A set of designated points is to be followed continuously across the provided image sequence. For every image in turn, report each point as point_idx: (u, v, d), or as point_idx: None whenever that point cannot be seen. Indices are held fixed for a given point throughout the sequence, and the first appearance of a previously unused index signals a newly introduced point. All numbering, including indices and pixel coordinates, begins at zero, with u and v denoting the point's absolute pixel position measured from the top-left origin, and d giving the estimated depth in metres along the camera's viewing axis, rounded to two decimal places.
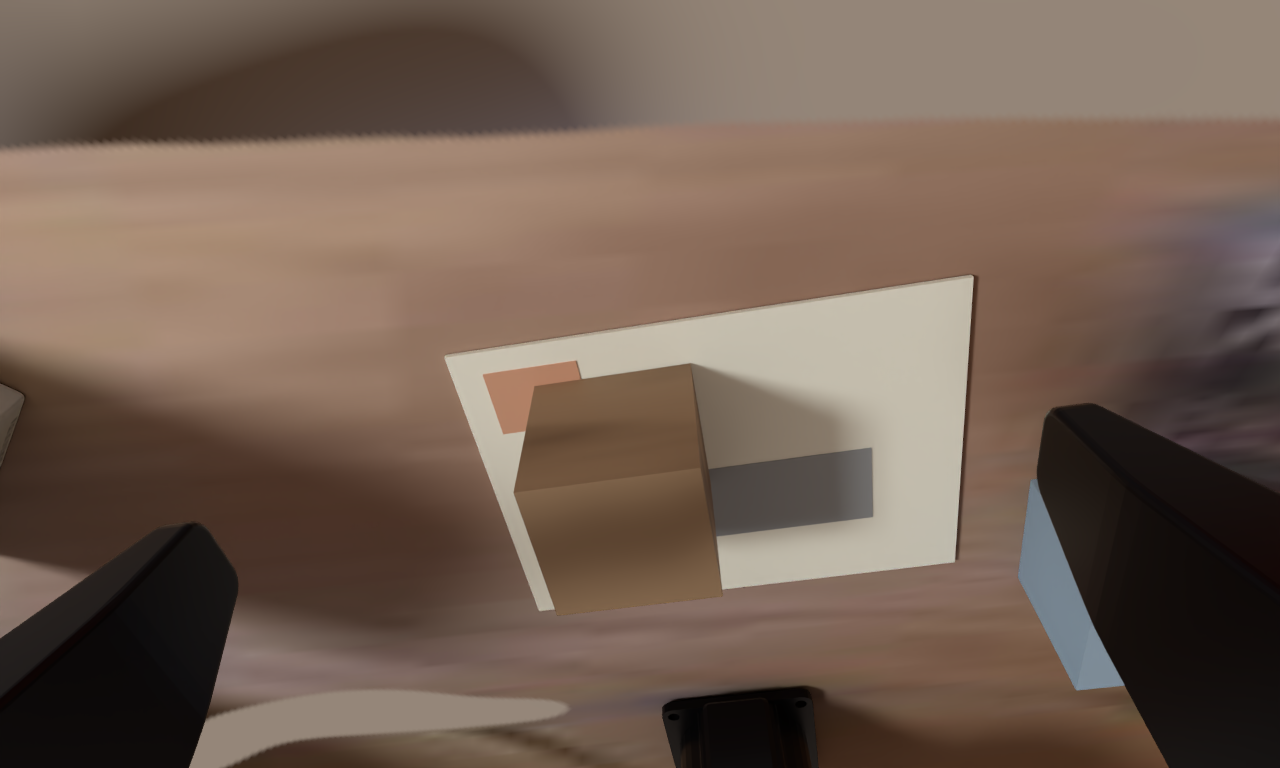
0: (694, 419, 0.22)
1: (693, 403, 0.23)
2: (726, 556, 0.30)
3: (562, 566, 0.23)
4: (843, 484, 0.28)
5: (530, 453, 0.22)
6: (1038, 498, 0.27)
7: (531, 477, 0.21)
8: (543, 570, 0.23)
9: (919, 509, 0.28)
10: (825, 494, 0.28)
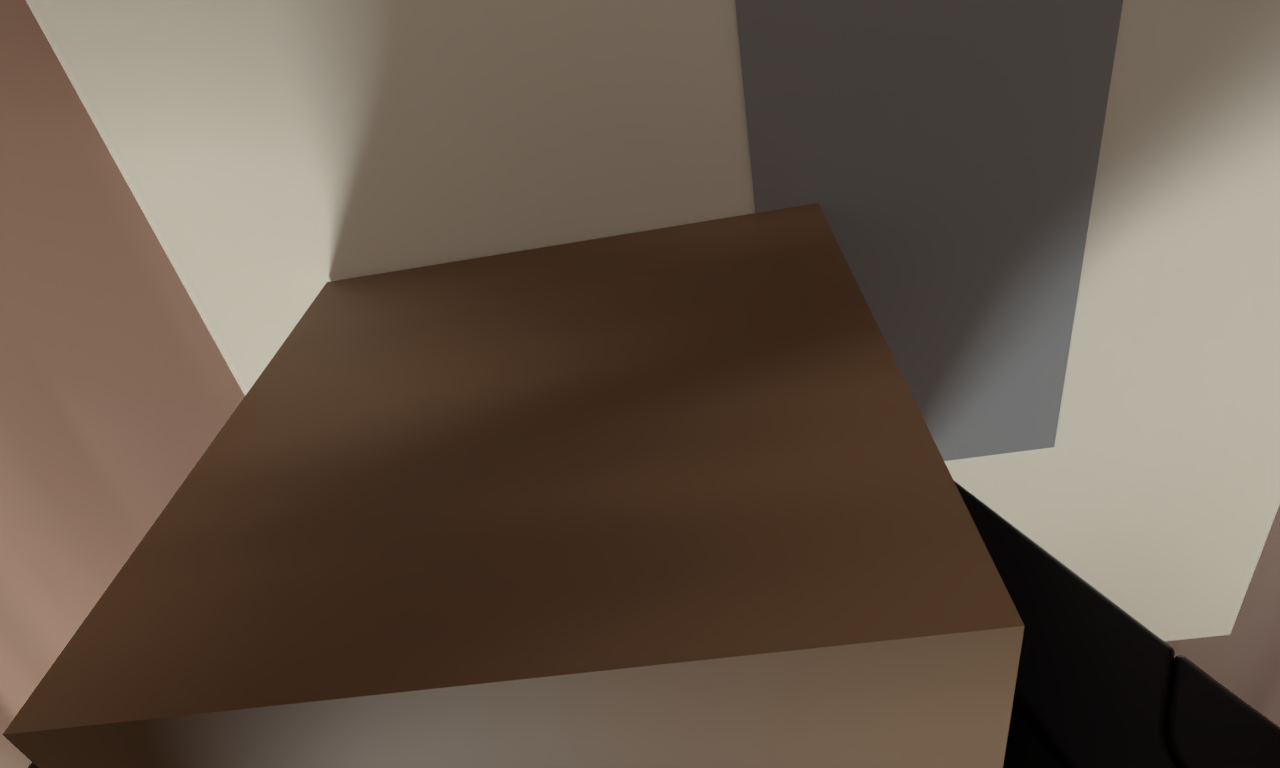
0: (196, 470, 0.06)
1: (245, 403, 0.06)
2: (1227, 122, 0.07)
3: None
4: None
5: None
6: None
7: None
8: None
9: None
10: None
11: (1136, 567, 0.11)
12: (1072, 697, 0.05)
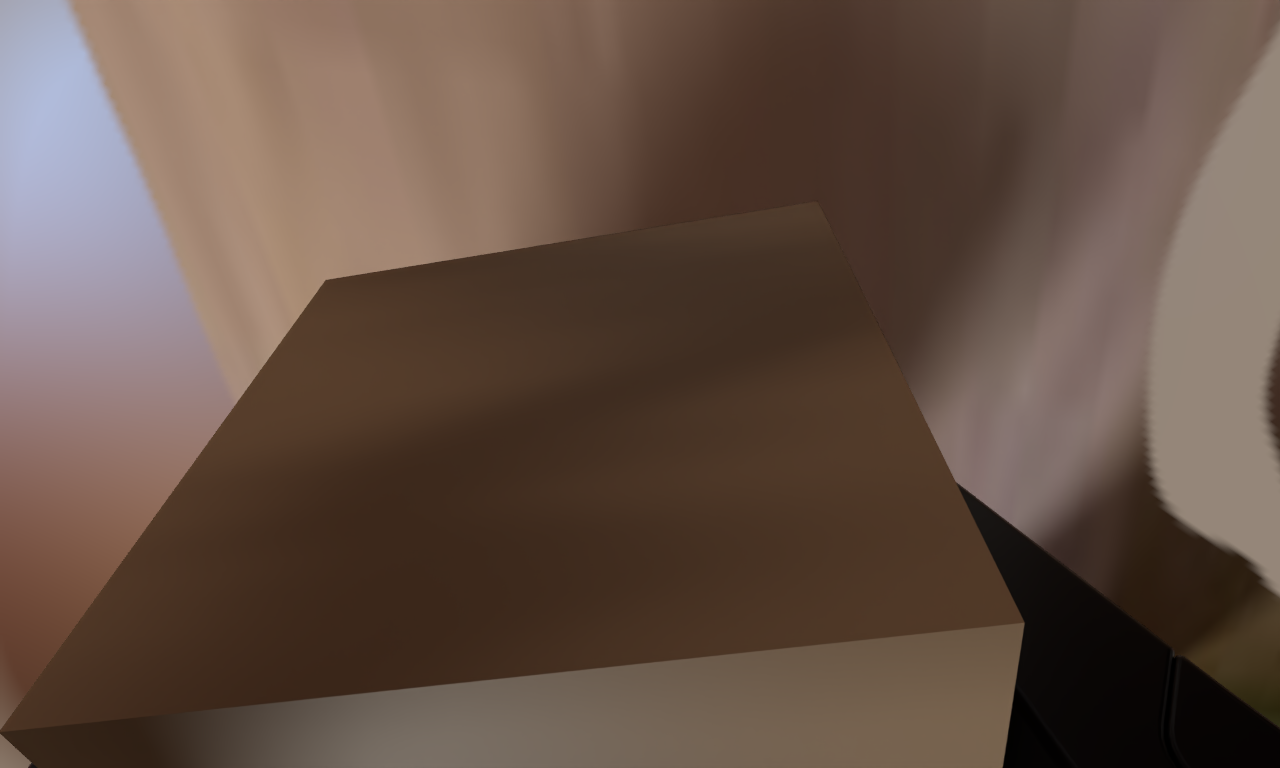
0: (194, 468, 0.06)
1: (243, 401, 0.06)
2: None
3: None
4: None
5: None
6: None
7: None
8: None
9: None
10: None
11: None
12: (1072, 697, 0.05)
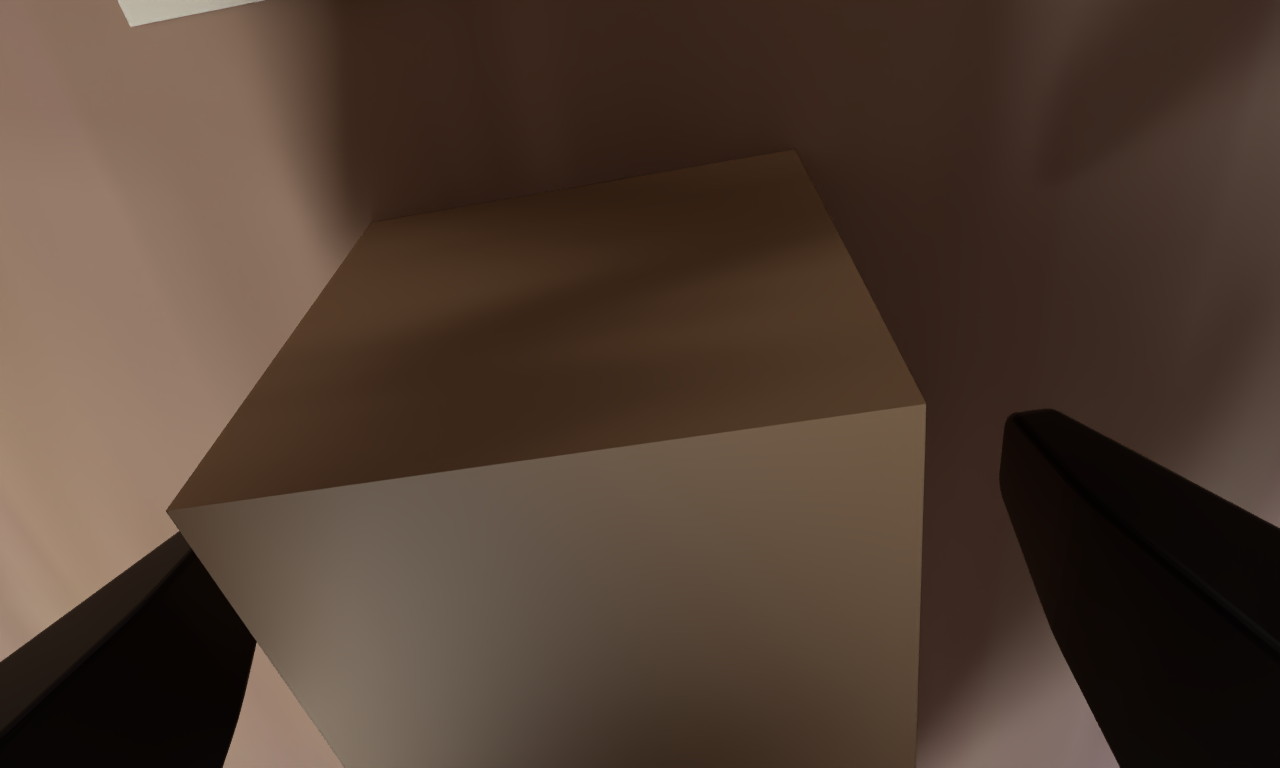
0: (282, 351, 0.07)
1: (315, 306, 0.08)
2: None
3: None
4: None
5: None
6: None
7: None
8: None
9: None
10: None
11: None
12: None
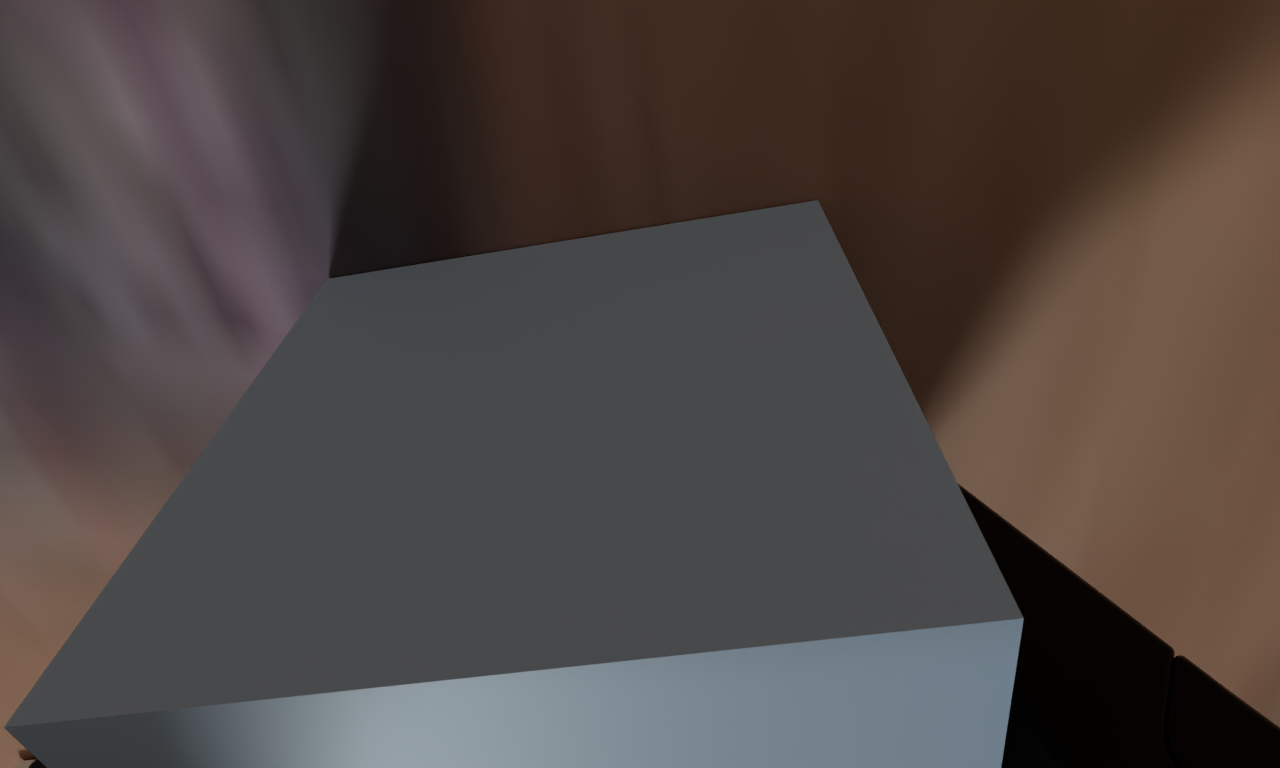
0: None
1: None
2: None
3: None
4: None
5: None
6: None
7: None
8: None
9: None
10: None
11: None
12: (1072, 697, 0.05)
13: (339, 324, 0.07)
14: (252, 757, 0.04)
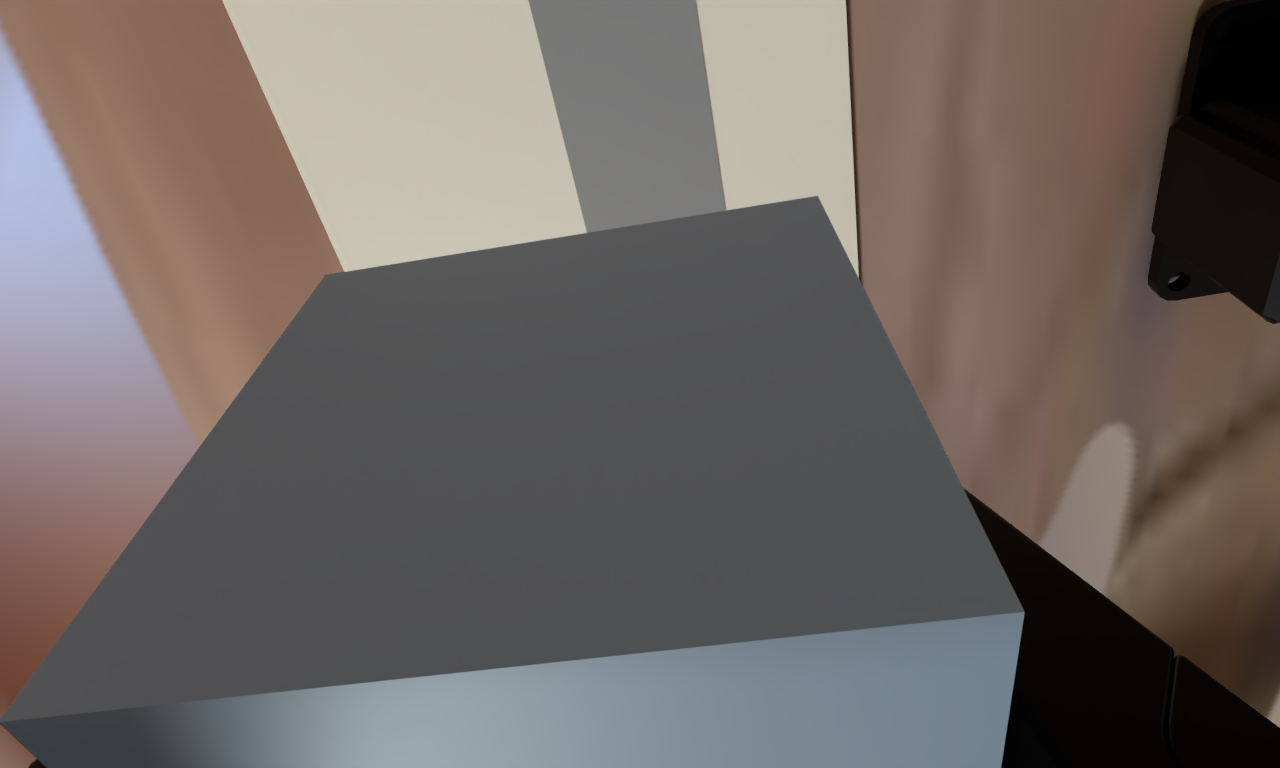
0: None
1: None
2: None
3: None
4: (612, 32, 0.16)
5: None
6: None
7: None
8: None
9: None
10: (635, 62, 0.16)
11: None
12: (1072, 697, 0.05)
13: (337, 320, 0.07)
14: (246, 754, 0.04)
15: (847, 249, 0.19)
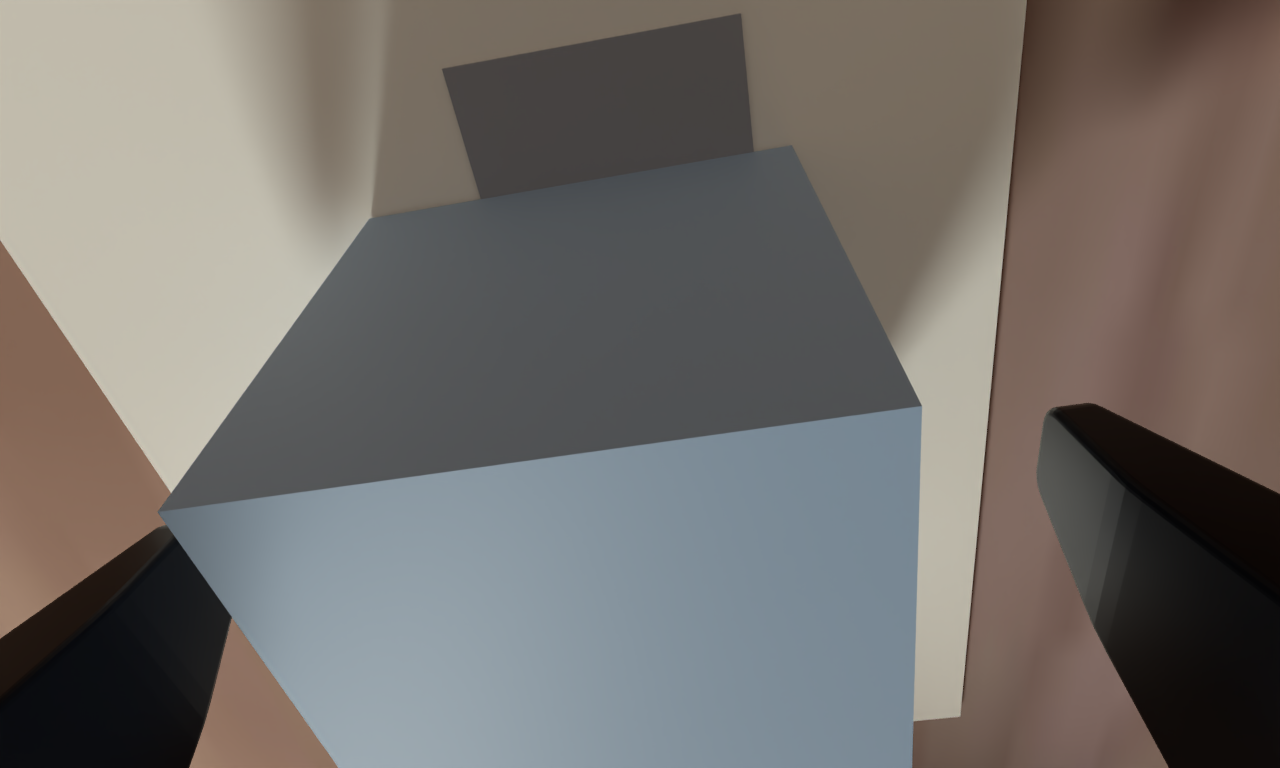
0: None
1: None
2: None
3: None
4: (596, 134, 0.09)
5: None
6: None
7: None
8: None
9: None
10: None
11: None
12: None
13: (384, 250, 0.09)
14: (343, 538, 0.05)
15: (967, 466, 0.12)
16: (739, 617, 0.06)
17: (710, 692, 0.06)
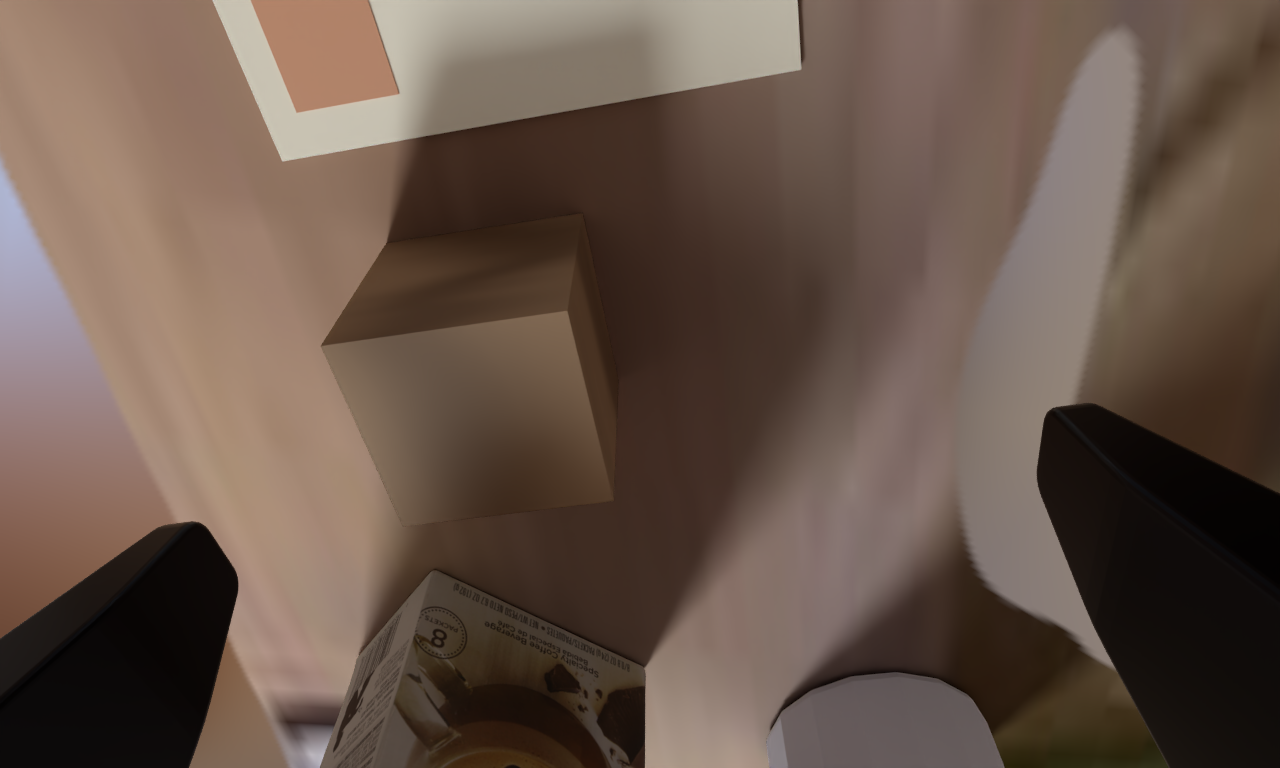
0: (352, 298, 0.17)
1: (364, 280, 0.18)
2: None
3: (520, 491, 0.18)
4: None
5: None
6: None
7: None
8: (528, 509, 0.18)
9: None
10: None
11: (721, 0, 0.16)
12: None
13: None
14: None
15: None
16: None
17: None
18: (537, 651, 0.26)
